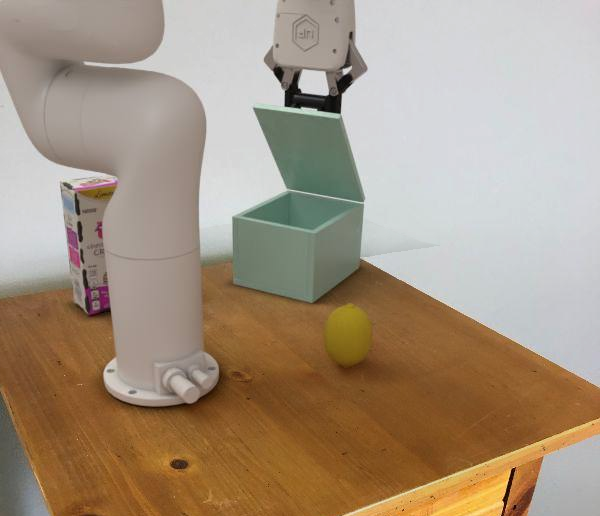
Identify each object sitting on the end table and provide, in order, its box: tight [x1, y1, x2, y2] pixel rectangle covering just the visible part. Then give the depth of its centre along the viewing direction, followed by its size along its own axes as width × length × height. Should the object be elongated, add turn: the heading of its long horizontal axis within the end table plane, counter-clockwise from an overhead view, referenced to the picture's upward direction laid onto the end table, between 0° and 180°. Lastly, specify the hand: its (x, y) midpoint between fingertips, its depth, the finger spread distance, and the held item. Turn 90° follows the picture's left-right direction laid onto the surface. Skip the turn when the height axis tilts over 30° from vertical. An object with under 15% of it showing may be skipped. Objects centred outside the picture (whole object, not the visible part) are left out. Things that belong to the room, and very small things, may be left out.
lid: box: [252, 92, 366, 203], centre depth 105 cm, size 17×13×5 cm
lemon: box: [323, 302, 373, 369], centre depth 85 cm, size 6×6×8 cm
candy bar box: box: [59, 174, 118, 316], centre depth 97 cm, size 11×5×16 cm, turn 128°
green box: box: [231, 189, 365, 304], centre depth 108 cm, size 16×13×10 cm
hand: (311, 121), depth 102 cm, fingers closed on lid, 5 cm apart
